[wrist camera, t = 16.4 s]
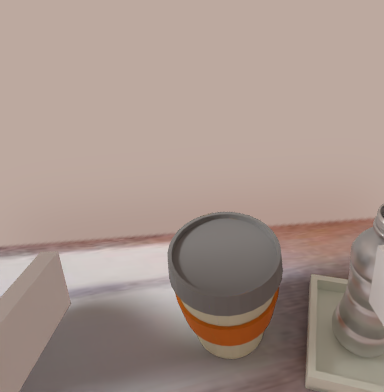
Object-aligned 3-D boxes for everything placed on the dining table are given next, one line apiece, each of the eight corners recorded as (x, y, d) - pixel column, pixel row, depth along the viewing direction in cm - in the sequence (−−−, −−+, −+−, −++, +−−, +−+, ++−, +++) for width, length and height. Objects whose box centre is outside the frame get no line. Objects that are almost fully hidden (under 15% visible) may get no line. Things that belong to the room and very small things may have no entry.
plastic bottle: (355, 304, 45) (393, 182, 33) (402, 347, 40) (467, 222, 28) (317, 328, 43) (342, 207, 31) (361, 376, 38) (412, 255, 26)
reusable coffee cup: (286, 300, 48) (294, 221, 39) (264, 390, 39) (267, 316, 30) (203, 277, 53) (192, 202, 43) (167, 353, 44) (143, 279, 35)
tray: (305, 388, 39) (307, 376, 37) (309, 287, 49) (311, 273, 47) (427, 417, 35) (436, 406, 33) (404, 302, 46) (410, 288, 44)
